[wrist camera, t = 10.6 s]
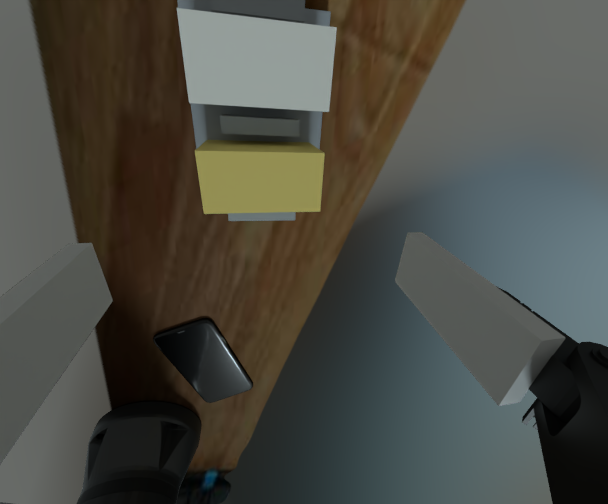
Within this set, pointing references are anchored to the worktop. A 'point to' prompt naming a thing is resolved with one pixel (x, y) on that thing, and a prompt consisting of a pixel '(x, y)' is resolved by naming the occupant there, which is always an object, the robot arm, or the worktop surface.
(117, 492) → the robot arm
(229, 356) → the smartphone
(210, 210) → the butter stick brick
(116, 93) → the worktop surface
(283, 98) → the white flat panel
